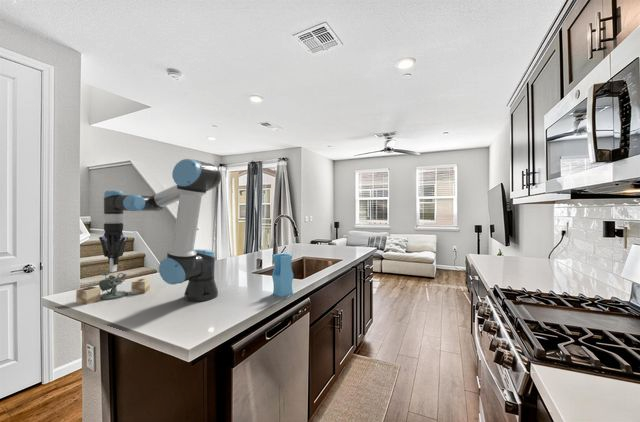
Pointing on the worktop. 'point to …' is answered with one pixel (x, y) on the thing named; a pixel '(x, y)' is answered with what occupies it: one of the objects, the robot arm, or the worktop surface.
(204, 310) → the worktop surface
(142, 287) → the marked cube
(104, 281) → the figurine
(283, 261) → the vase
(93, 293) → the marked cube
